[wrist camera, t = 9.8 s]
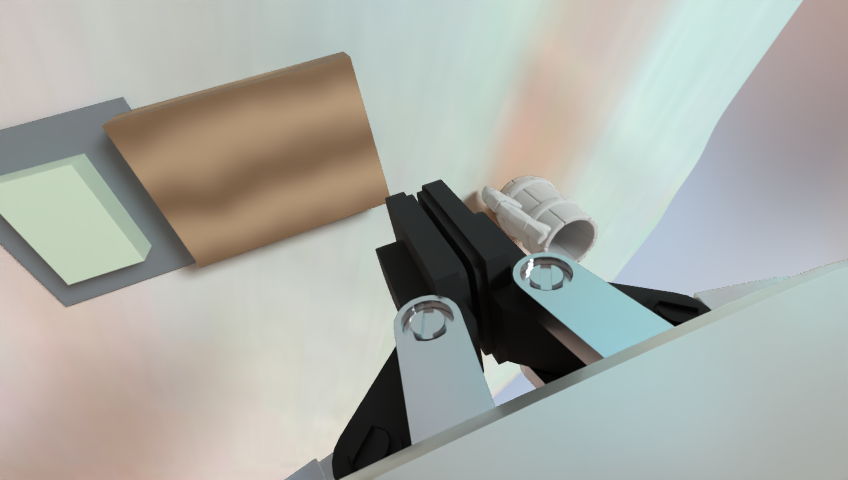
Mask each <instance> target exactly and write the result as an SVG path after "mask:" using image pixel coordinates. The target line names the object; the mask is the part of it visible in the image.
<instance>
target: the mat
mask: <svg viewBox="0 0 848 480" xmlns="http://www.w3.org/2000/svg"><path fill="white" fill-rule="evenodd" d="M129 111H131V109H130V107H129V106H128V104H127V103H126V101H125V99H124V98H123V97H121V98H118V99H114V100H110V101H107V102H103V103H99V104H95V105H92V106H88V107H84V108H81V109H77V110H73V111H69V112H66V113H62V114H58V115H55V116H51V117H47V118H43V119H40V120H36V121H32V122H29V123H25V124H21V125H17V126H14V127H10V128H6V129H3V130H0V176H2V175H5V174H9V173H13V172H17V171H20V170H24V169H28V168H31V167H35V166H39V165H43V164H46V163H50V162H54V161H58V160H61V159H65V158H69V157H72V156H76V155H80V154H85V155H86V156H87V158H88V159H89V161H90V162H91V163H92V165H93V166H94V167H95V169H96V170H97V171H98V173H99V174H100V176H101V177H102V178H103V180H104V181H105V182H106V184H107V185H108V187H109V188H110V189H111V191H112V192H113V193H114V195H115V196H116V197H117V199H118V200H119V202H120V203H121V204H122V206H123V207H124V208H125V210H126V211H127V213H128V214H129V215H130V217H131V218H132V219H133V221H134V222H135V224H136V225H137V226H138V228H139V229H140V230H141V232H142V233H143V234H144V236H145V237H146V239H147V240H148V241H149V243H150V244H151V245H152V246H151V248H150V250H149V252H148V255H147V257H146V259H145V261H142V262H139V263H136V264H133V265H130V266H126V267H123V268H120V269H117V270H114V271H111V272H108V273H104V274H101V275H98V276H95V277H92V278H89V279H86V280H83V281H79V282H76V283H73V284H70V285H68V284H67V283H66V282H65V281H64V280H63V279H62V278H61V277H60V276H59V275H58V274H57V273H56V272H55V270H54V269H53V268H52V267H51V266H50V265H49V264H48V263H47V262H46V261H45V260H44V259H43V258H42V257H41V256H40V255H39V254H38V253H37V252H36V251H35V250H34V248H33V247H32V246H31V245H30V244H29V243H28V242H27V241H26V240H25V239H24V238H23V237H22V236H21V235H20V234H19V233H18V232H17V231H16V230H15V229H14V228H13V226H12V225H11V224H10V223H9V222H8V221H7V220H6V219H5V218H4V217H3V216H2V215H1V214H0V244H1V245H2V246H3V247H4V248H5V249H7V250H8V251H9V252H10V253H11V254H12V255H13V256H14V257H15V258H16V259H17V260H18V261H19V262H20V263H21V264H22V265H23V266H24V267H25V268H26V269H27V270H28V271H29V272H30V273H31V274H33V275H34V276H35V277H36V278H37V279H38V280H39V281H40V282H41V283H42V284H43V285H44V286H45V287H46V288H47V289H48V290H49V291H50V292H51V293H52V294H53V295H54V296H55V297H56V298H57V299H59V300H60V301H61V302H62V303H63V304H64V305H65V306H66V307H67V306H70V305H73V304H76V303H79V302H81V301H84V300H87V299H90V298H93V297H96V296H99V295H102V294H105V293H108V292H111V291H114V290H117V289H119V288H122V287H125V286H128V285H131V284H134V283H137V282H140V281H143V280H146V279H149V278H152V277H154V276H157V275H160V274H163V273H166V272H169V271H172V270H175V269H178V268H181V267H184V266H187V265H189V264H192V263H195V262H196V260H195V259H194V258H193V256H192V255H191V253H190V252H189V250H188V249H187V248H186V246H185V245H184V243H183V242H182V240H181V239H180V237H179V236H178V235H177V233H176V232H175V230H174V229H173V227H172V226H171V225H170V223H169V222H168V220H167V219H166V217H165V216H164V215H163V213H162V212H161V210H160V209H159V207H158V206H157V204H156V203H155V202H154V200H153V199H152V197H151V196H150V194H149V193H148V192H147V190H146V189H145V187H144V186H143V184H142V183H141V182H140V180H139V179H138V177H137V176H136V174H135V173H134V171H133V170H132V169H131V167H130V166H129V164H128V163H127V161H126V160H125V159H124V157H123V156H122V154H121V153H120V151H119V150H118V149H117V147H116V146H115V144H114V143H113V141H112V140H111V138H110V137H109V136H108V134H107V133H106V131H105V130H104V128H103V127H102V125H104V124H105V123H106V122H108V121H109V120H110V119H112V118H113V117H114V116H116V115H118V114H122V113H126V112H129Z"/></svg>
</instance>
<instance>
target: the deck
mask: <svg viewBox="0 0 848 480" xmlns="http://www.w3.org/2000/svg"><path fill="white" fill-rule="evenodd" d="M102 127H103V128H104V130H105V131H106V133H107V134H108V136H109V137H110V138H111V140H112V141H113V143H114V144H115V146H116V147H117V149H118V150H119V151H120V153H121V154H122V156H123V157H124V159H125V160H126V161H127V163H128V164H129V166H130V167H131V169H132V170H133V171H134V173H135V174H136V176H137V177H138V179H139V180H140V182H141V183H142V184H143V186H144V187H145V189H146V190H147V192H148V193H149V194H150V196H151V197H152V199H153V200H154V202H155V203H156V204H157V206H158V207H159V209H160V210H161V212H162V213H163V215H164V216H165V217H166V219H167V220H168V222H169V223H170V225H171V226H172V227H173V229H174V230H175V232H176V233H177V235H178V236H179V237H180V239H181V240H182V242H183V243H184V245H185V246H186V248H187V249H188V250H189V252H190V253H191V255H192V256H193V258H194V259H195V260H196V262H197V263H198V265H199V266H200V267H203V266H206V265H209V264H212V263H215V262H217V261H220V260H223V259H226V258H229V257H232V256H235V255H238V254H241V253H244V252H246V251H249V250H252V249H255V248H258V247H261V246H264V245H267V244H270V243H272V242H275V241H278V240H281V239H284V238H287V237H290V236H293V235H296V234H299V233H301V232H304V231H307V230H310V229H313V228H316V227H319V226H322V225H325V224H327V223H330V222H333V221H336V220H339V219H342V218H345V217H348V216H351V215H354V214H356V213H359V212H362V211H365V210H368V209H371V208H374V207H377V206H380V205H383V204H385V203H386V201H385V198H386V197H389V196H390V195H389V191H388V188H387V184H386V181H385V177H384V174H383V170H382V167H381V163H380V160H379V156H378V153H377V149H376V146H375V142H374V139H373V135H372V132H371V128H370V125H369V121H368V118H367V114H366V111H365V107H364V104H363V100H362V97H361V93H360V90H359V86H358V83H357V79H356V76H355V72H354V69H353V65H352V62H351V58H350V56H348V55H347V54H345V53H344V52H341V53H337V54H333V55H330V56H326V57H322V58H319V59H315V60H311V61H308V62H304V63H301V64H297V65H293V66H290V67H286V68H282V69H279V70H275V71H272V72H268V73H264V74H261V75H257V76H253V77H250V78H246V79H243V80H239V81H235V82H232V83H228V84H224V85H221V86H217V87H213V88H210V89H206V90H203V91H199V92H195V93H192V94H188V95H184V96H181V97H177V98H174V99H170V100H166V101H163V102H159V103H155V104H152V105H148V106H144V107H141V108H137V109H134V110H131V111H129V112H126V113H122V114H118V115H116V116H114V117H113V118H112V119H110V120H109V121H108V122H106V123H105V124H104V125H102Z"/></svg>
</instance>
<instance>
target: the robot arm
mask: <svg viewBox="0 0 848 480" xmlns="http://www.w3.org/2000/svg"><path fill="white" fill-rule="evenodd" d="M417 198H418V201H417V200H416V199H415V197H414V196H413V195H412V194H411V195H408V196H406V194H405V193H404V192H401V193H398V194H395V195H392V196H389V197H386V198H385V201H386V205H387V209H388V212H389V216H390V220H391V223H392V227H393V230H394V234H395V237H396V241H397V242H394V243H391V244H388V245H385V246H382V247H380V248H377V249H376V253H377V256H378V259H379V262H380V265H381V269H382V272H383V274H384V277H385V280H386V283H387V286H388V288H389V291H390V294H391V296H392V299H393V301H394V304H395V306H396V309H397V311H398V313H397V315H396V317H395V320H394V334H395V340H396V347H395V348H394V350H393V352H392V353H391V355H390V356H389V358H388V360H387V361H386V363H385V365H384V366H383V368H382V369H381V371H380V373H379V374H378V376H377V377H376V379H375V381H374V382H373V384H372V386H371V387H370V389H369V390H368V392H367V394H366V395H365V397H364V399H363V400H362V402H361V403H360V405H359V407H358V408H357V410H356V412H355V413H354V415H353V416H352V418H351V420H350V421H349V423H348V425H347V426H346V428H345V429H344V431H343V433H342V434H341V436H340V438H339V440H338V442H337V444H336V446H335V448H334V452H333V453H331V454H330V455H329V456H327V457H326V458H324V459H323V460H322V461H320V462H318V461H317V459H316V458H315V459H314V460H312V461H311V462H309V463H308V464H307V465H305V466H304V467H302V468H301V469H299V470H298V471H296V472H295V473H294V474H292V475H291V476H289V477H288V478H286V479H285V480H848V259H846V260H842V261H839V262H835V263H832V264H828V265H824V266H820V267H817V268H814V269H812V270H809V271H806V272H803V273H800V274H798V275H795V276H792V277H774V278H769V279H764V280H759V281H754V282H748V283H743V284H739V285H733V286H728V287H723V288H718V289H713V290H708V291H703V292H697V293H694V297H693V298H692V297H689V296H687V295H683V294H678V293H674V292H667V291H661V290H654V289H647V288H642V287H634V286H629V285H622V284H615V283H609V282H605V281H604V280H602V279H601V278H599V277H598V276H596V275H595V274H593V273H592V272H590V271H589V270H587V269H585V268H584V267H582V266H581V265H579V264H578V263H576V262H575V261H573V260H572V259H570V258H568V257H566V256H564V255H561V254H556V253H549V252H541V253H535V254H531V255H528V256H527V255H526V254H525V253H524V252H523V251H522V250H521V249H520V248H519V247H518V246H517V245H516V244H515V243H514V242H513V241H512V240H511V239H510V238H509V237H508V236H507V235H506V234H505V233H504V232H503V231H502V230H501V229H500V228H499V227H498V226H497V225H496V224H495V223H494V222H493V221H492V220H491V219H490V218H489V217H488V216H487V215H486V214H485V213H483V212H478V213H475V214H473V213H472V212H471V211H470V210H469V209H468V207H467V206H466V205H465V204H464V203H463V202H462V201H461V200H460V199H459V198H458V197H457V196H456V195H455V194H454V193H453V192H452V191H451V189H450V188H449V187H448V186H447V185H446V184H445V183H444V182H443V181H442V180H437V181H434V182H431V183H428V184H425V185H422V191H420V192H417ZM418 202H419V203H418ZM481 350H482V351H483V353H484V354H485V355H486V356H487V355H489V354H492V355H493V356H494V358H495V360H496V361H497V363H498V364H501V363H504V362H506V361H509V362H513V363H516V364H520V368H521V371H522V372H523V374H524V375H525V376H526V378H527V379H528V380H529V381H530V382H531V383H532V384H533V385H534V386H535V387H536V389H535V390H533V391H530V392H528V393H526V394H524V395H521V396H519V397H517V398H515V399H513V400H510V401H508V402H506V403H504V404H502V405H500V406H497V407H495V405H494V402H493V399H492V396H491V393H490V391H489V388H488V385H487V382H486V380H485V377H484V374H483V373H484V367H483V361H482V355H481Z"/></svg>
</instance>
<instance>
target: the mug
mask: <svg viewBox="0 0 848 480" xmlns="http://www.w3.org/2000/svg"><path fill="white" fill-rule="evenodd" d="M481 197H482V199H483V201H484V202H485V203H486V204H487V206H488V207H489V208H490V209H491V210H492V211H494V212H495V213H496V218H497V220H498V222H499V225H500V227H501V228H502V229H503V230H504V231H505V232H506V233H507V234H508V235H510V236H512V237H515V238H517V239H519V240H520V241H521V242H522V243H523V247H524V248H525V249H526V250H527V251H529V252H530V253H531V254H535V253H541V252H549V253H556V254H561V255H564V256H566V257H568V258H570V259H572V260H573V261H575V262H576V263H577V262H580V261H581V260H582V259H583V258H585V256H586V254H587V253H588V251H590V249H591V248H592V247H593V246H594V244H595V242H596V239H597V236H598V227H597V224H596V222H595V221H594V220H593V219H592V218H591V217H590V216H588V215H587V214H586V213H585V212H583V211H582V209H581V208H580V206H579V205H578V204H577V203H576V202H574V201H573V200H571V199H569V198H566V197H564V196H562V195H561V194H560V193H558V192H557V190H556V188H555V187H554V186H553V184H551V183H550V182H549V181H547V180H545V179H544V178H541V177H536V176H531V175H529V176H523V177H519V178H516V179H514V180H513V182H512V181H511V182H509V183H508V184H507V185H506V186H505V187H504V188H503V189H502V191H501V192H499V191H498V190H496V189H494V188H491V187H488V186H486V187H484V189H483V191H482V196H481Z"/></svg>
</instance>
